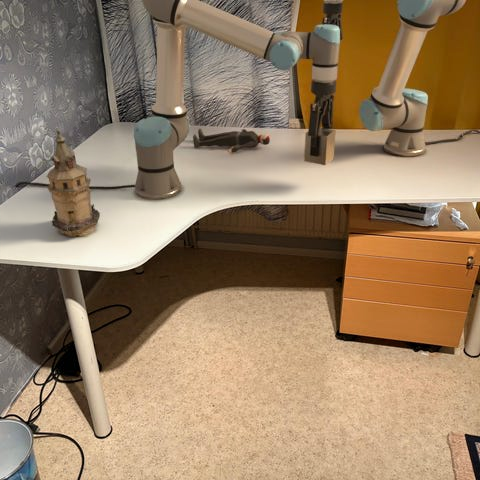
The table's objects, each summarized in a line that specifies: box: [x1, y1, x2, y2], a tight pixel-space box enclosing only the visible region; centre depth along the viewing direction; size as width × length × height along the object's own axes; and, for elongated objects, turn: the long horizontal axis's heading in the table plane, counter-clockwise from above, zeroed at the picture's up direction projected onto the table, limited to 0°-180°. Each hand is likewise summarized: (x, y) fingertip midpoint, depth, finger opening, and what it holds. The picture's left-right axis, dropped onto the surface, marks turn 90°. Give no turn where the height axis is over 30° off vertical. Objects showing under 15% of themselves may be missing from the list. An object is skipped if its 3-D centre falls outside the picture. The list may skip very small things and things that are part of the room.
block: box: [303, 127, 337, 166], centre depth 172 cm, size 7×7×10 cm
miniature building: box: [46, 129, 101, 237], centre depth 148 cm, size 13×14×30 cm
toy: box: [192, 128, 271, 155], centre depth 214 cm, size 26×6×30 cm
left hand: (319, 151), depth 173 cm, fingers closed on block, 7 cm apart
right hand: (329, 59), depth 217 cm, fingers open, 13 cm apart
